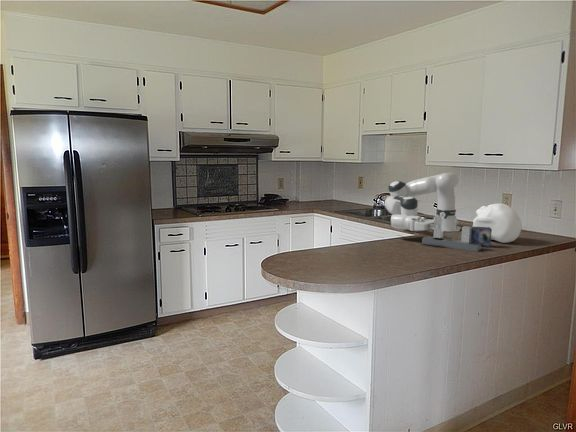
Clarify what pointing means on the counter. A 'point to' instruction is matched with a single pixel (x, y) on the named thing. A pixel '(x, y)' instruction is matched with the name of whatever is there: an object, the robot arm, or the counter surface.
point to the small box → (481, 235)
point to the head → (499, 222)
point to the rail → (455, 241)
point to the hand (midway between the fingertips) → (440, 226)
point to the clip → (439, 221)
